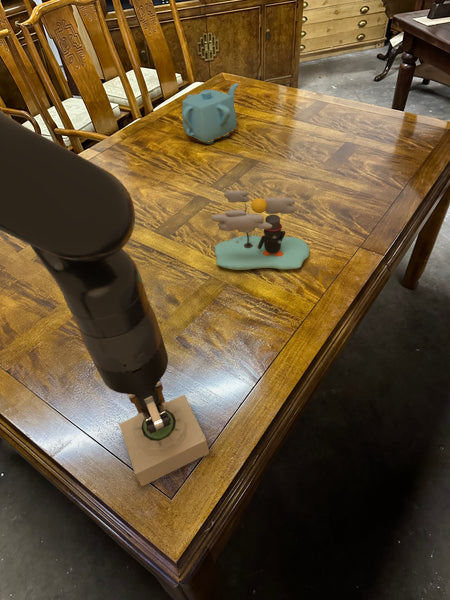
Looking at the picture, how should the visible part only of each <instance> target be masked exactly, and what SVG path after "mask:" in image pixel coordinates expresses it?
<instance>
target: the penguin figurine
mask: <svg viewBox="0 0 450 600" xmlns="http://www.w3.org/2000/svg"><path fill="white" fill-rule="evenodd" d="M223 197H224V198H226V199H227V201H228V202H229V203H233V204H234V203H244V206H245V209H244V207H243V208H241V207H240V206H238V208H239V209H230V210H226V211H225V212H224V213H217V214H213V215H210V219H211V220H212V221H213V222H217V223H218V224H217V227H218V229H219V230H220V231H223V232H234V231H238V233H242V234H243V235H240V236H236V237H233V238H230V239H228V240H223V241H220V242H219V243H217V244H216V245H215V246H214V255H215V257H216V265H217V266H219V267H221V268H224V269H227V270H234V271H245V270H246V271H247V270H257V269H267V268H268V269H275V270H276V269H278V270H293V269H299V268H301V267H302V265H303V264H304V261H305V260H306V259H308V258H309V256H310V252H311V248H310V246H309V245H308V243H307V242H306V241H305V240H304V239H302V238H300V237H296V236H285V235H286V230H282V229H283V225H282V223H281V217H280V216H284V215H285V214H286V215H291V214H294V213H296V207H295V205H296V202H295V200H294V199H293V198H291V197H277V196H276V197H273V196H272V197H265V198H260V197H258V198H257V197H256V198H255V199H253V200H252V202H251V203H250V204H248V205H247V203H248V202H250V197H249V192H248V191H246V190H228V191H227V190H226V191H225V192H224V193H223ZM247 207H250V208H251V210H252V211H253V212H254V213H247V209H248V208H247ZM243 209H244V210H243ZM264 212H265V213H266V214H267V216H266V217H264V216H263V215H261V214H262V213H264ZM277 214H279V215H280V216H279V215H277ZM256 229H258V230H259V231H262V230H263V234H264V235H262V236H260V235H259V234H258V233H257V232H255V231H256Z"/></svg>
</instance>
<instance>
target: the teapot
mask: <svg viewBox="0 0 450 600" xmlns="http://www.w3.org/2000/svg"><path fill="white" fill-rule="evenodd" d="M239 85H240V83H234V84H233V85H231V86H230V87H229V90H228V93H225V92H223V91H219V90H215V89H204V90H202V91H201V92H199V93H196V94H188V95H187V96H186V98H185V99H183V100H182V101H181V118H182V119H181V121H182V128H183V131H184V133H185V135H186V134H187V135H186V136H188V137H190V136H192V137H194V138H196V139H198V140H197V141H199V140H200V141H199V142H201V141H203V142H207V143H206V144H208V145H210V144H213V143H214V142H215V140H213V139H216V138H218V137H221V136H223V135H225V134H227V133H229V132H231V131H232V130H234V129H235V128H236V129H237V124H238V120H237V114H236V108H235V107H236V106H235V93H236V89H237V88H238V87H239ZM234 131H235V130H234ZM231 133H232V132H231ZM229 136H230V133H229V134H227V135H225V136H223V137H221V138H227V137H229ZM192 137H191V138H192ZM194 138H193V139H194ZM196 139H195V140H196ZM218 139H219V138H218ZM211 140H213V141H211ZM216 140H217V139H216ZM208 141H210V142H208ZM203 142H202V143H203Z"/></svg>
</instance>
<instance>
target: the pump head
mask: <svg viewBox="0 0 450 600" xmlns="http://www.w3.org/2000/svg"><path fill="white" fill-rule="evenodd" d="M166 413H167V415H168V417H170V420H171V421H170V423H171V425H169V426H167V427H165V426H164V428H162V429H160V430H158V431H157V430H156V432H154V433H152V434H150V432H149V431H147V428H146V427H147V425H146V421H144V426H143V427H144V431H145V433H146V435H147V437H148V439H150V440H154V441H160V440H162V439H164V438H166V437H169V435H170V434H171V433H172V432H173V430H174V429H175V424H174V421H173V418H172V416H171V414H170V413H168V412H167V411H166Z"/></svg>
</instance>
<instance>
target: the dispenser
mask: <svg viewBox="0 0 450 600" xmlns="http://www.w3.org/2000/svg"><path fill="white" fill-rule="evenodd" d="M162 405H163V406H164V408H163V409H164V410H165V411H167V412H168V413H170V414H171V416H172V418H173V421H174V424H175V429H174V430H173V432H172V433H171V434H170V435H169V437H166V438H164V439H162V440H160V441H154V440H150V439H148V437H147V435H146V433H145V431H144V427H143V426H144V421H145V419H146V418H145V417H144V416H143V413H138V414H137V415H136V416H134V417H131V418H129V419H127V420H125V421H122V422H120V423H118V424H119V427H120V428H119V429H120V432H121V434H122V437H123V441H124V444H125V447H126V450H127V454H128V456H129V459H130V463H131V466H132V469H133V472H134V476H136V478H137V480H138V482H139V484H140V486H141V487H144V486H146V485H148V484H150V483H152V482H154V481H156V480H158V479H160V478H162V477H165V476H167V475H168V474H170V473H172V472H174V471H177V470H178V469H180V468H183V467H185V466H187V465H188V464H190V463H192V462H195V461H196V460H199V459H201V458H202V457H205V456H206V455H207V456H208V455H209V454H210V449H209V446H208V441H207V439H206V436H205V434H204V432H203V429H202V428H201V425H200V424H199V422H198V420H197V417H196V415H195V413H194V411H193V409H192V407H191V404H190V403H189V400H188V398H187V396H186V394H183V395H180V396H178V397H176V398H173V399H171V400H169V401H165V402H164V403H163V404H162Z"/></svg>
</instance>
